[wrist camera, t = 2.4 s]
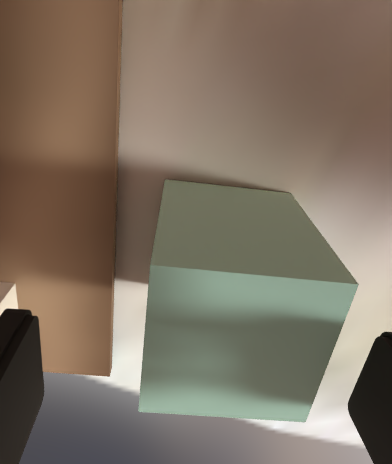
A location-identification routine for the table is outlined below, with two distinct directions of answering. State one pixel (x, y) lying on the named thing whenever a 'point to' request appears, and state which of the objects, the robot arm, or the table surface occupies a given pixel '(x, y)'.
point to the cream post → (8, 296)
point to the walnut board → (61, 172)
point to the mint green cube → (239, 305)
